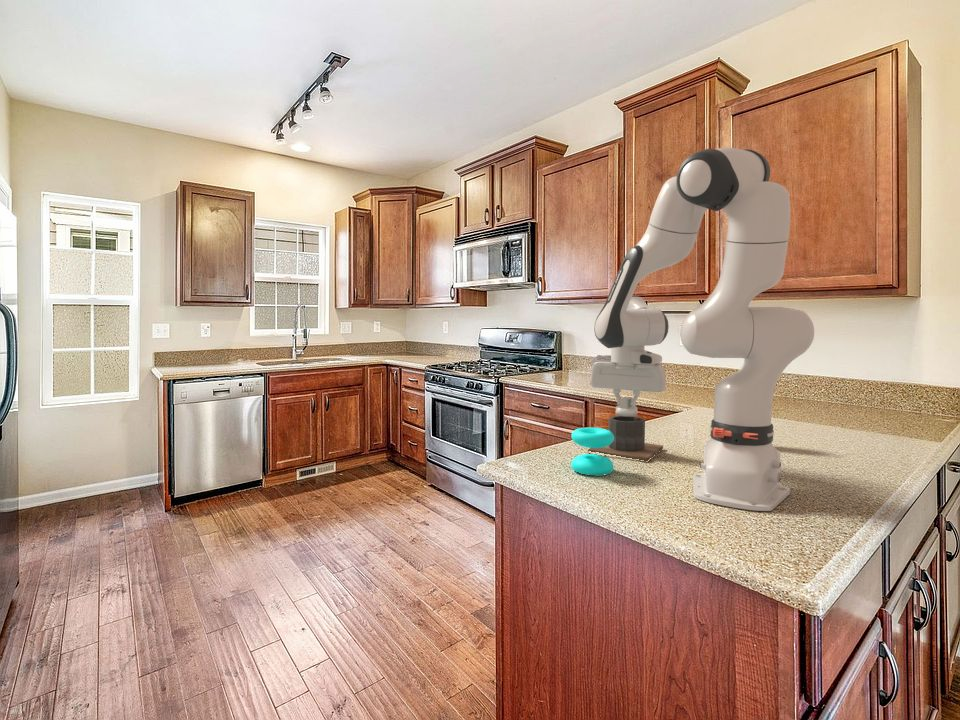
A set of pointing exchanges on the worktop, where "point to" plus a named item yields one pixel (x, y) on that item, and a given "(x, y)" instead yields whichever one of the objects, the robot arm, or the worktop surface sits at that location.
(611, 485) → the worktop surface
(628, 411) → the block on round base
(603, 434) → the donuts
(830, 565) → the worktop surface
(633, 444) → the cylinder on base plate
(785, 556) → the worktop surface
